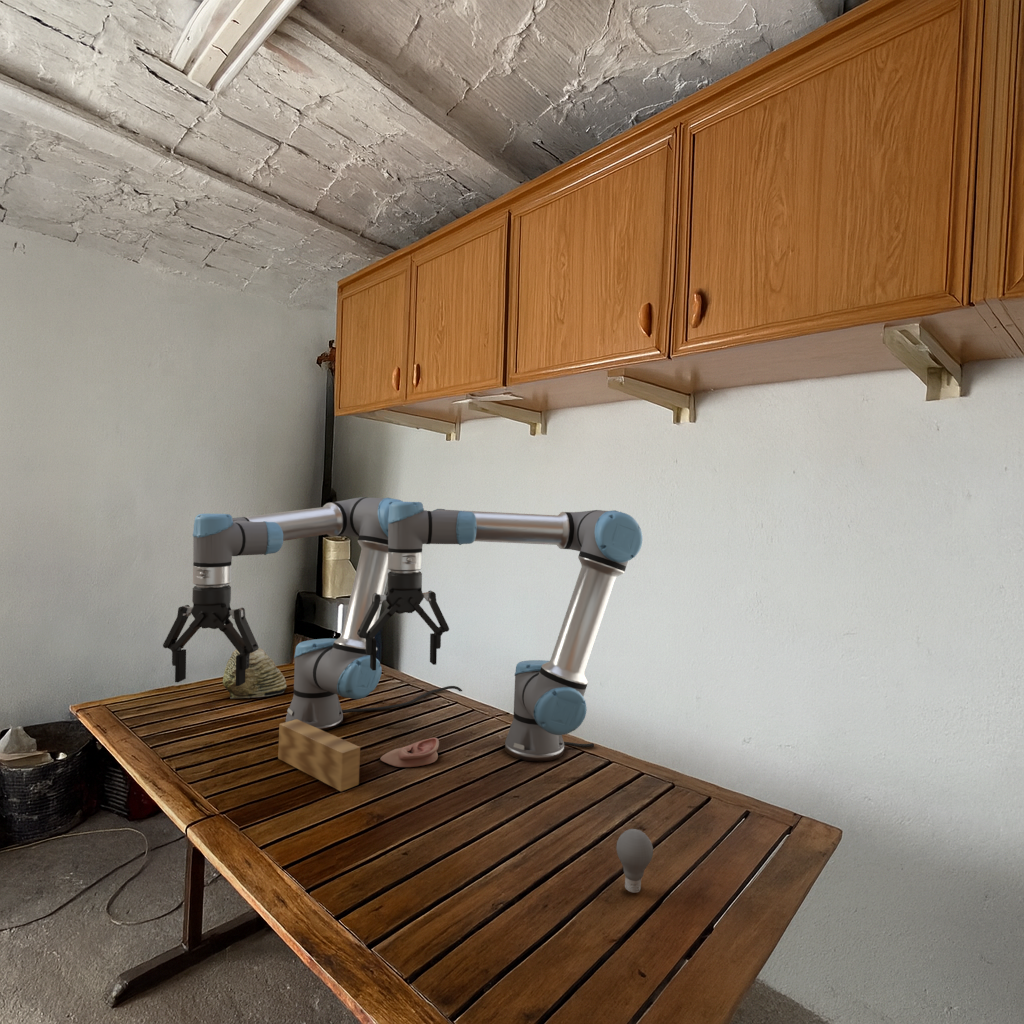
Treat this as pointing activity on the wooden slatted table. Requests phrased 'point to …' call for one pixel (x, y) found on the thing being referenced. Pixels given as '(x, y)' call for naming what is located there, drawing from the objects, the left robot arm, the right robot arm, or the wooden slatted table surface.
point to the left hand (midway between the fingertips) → (210, 682)
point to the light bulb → (634, 857)
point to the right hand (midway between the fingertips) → (403, 666)
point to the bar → (319, 754)
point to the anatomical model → (413, 754)
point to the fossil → (254, 677)
